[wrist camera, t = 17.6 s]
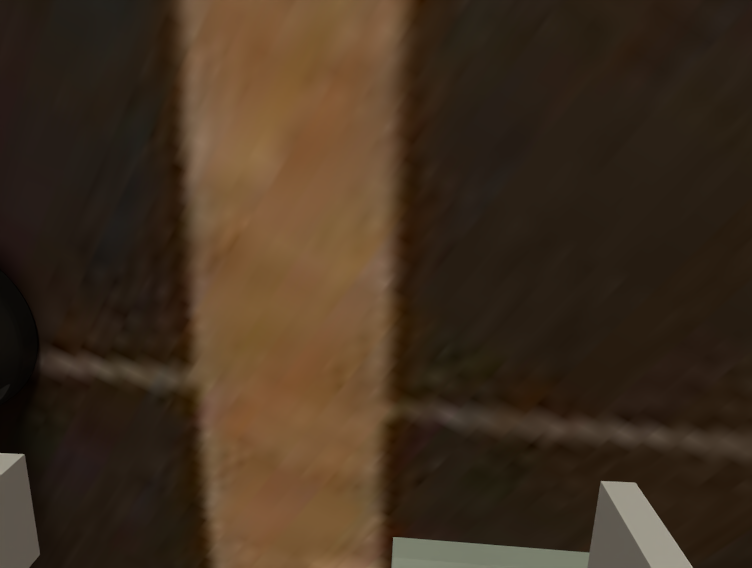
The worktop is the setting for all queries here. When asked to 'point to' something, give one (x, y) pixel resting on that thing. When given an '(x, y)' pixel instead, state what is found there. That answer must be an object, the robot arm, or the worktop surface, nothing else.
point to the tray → (479, 555)
